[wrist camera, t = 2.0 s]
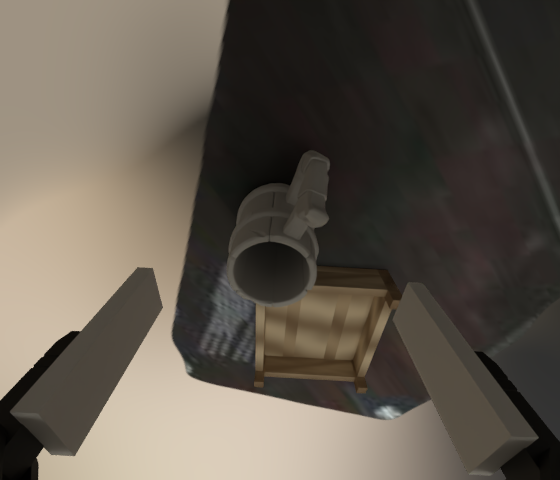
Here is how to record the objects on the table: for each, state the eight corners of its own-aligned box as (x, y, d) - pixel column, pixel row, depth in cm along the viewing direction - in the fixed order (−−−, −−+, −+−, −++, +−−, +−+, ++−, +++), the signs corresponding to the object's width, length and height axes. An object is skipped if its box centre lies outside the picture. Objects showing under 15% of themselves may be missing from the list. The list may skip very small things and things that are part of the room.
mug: (229, 230, 26) (192, 316, 16) (275, 121, 21) (263, 145, 10) (292, 256, 28) (295, 350, 18) (350, 161, 22) (405, 216, 12)
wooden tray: (259, 262, 28) (254, 291, 24) (387, 270, 28) (405, 300, 24) (258, 353, 37) (254, 386, 33) (356, 358, 37) (365, 393, 33)
